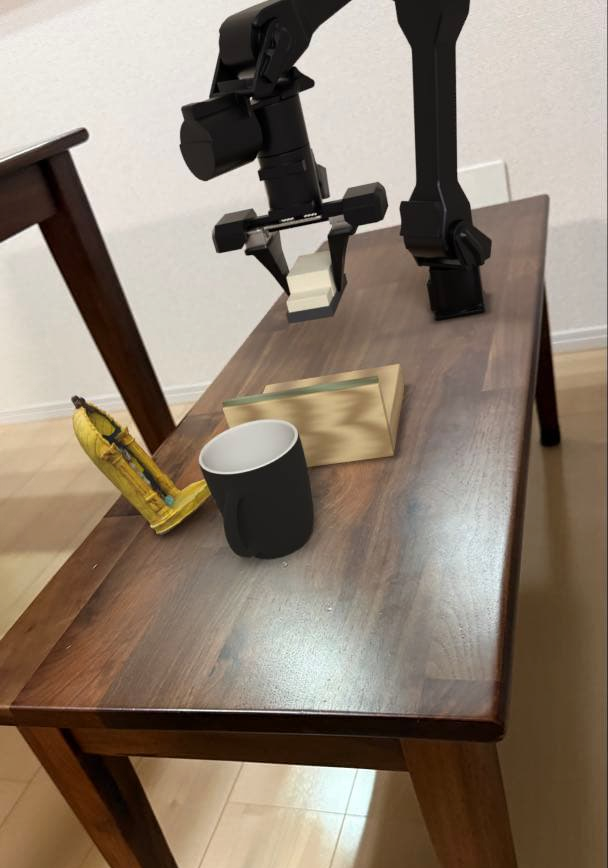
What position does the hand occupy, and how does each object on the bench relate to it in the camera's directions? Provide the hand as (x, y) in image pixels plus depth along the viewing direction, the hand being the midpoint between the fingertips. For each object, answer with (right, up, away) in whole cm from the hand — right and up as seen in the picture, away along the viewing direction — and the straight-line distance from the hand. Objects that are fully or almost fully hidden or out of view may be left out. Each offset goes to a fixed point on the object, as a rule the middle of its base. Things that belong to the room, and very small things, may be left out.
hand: (317, 294), depth 96 cm
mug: (-4, -29, -19) cm, 35 cm away
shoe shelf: (+1, -15, -2) cm, 16 cm away
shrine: (-15, -26, -11) cm, 32 cm away
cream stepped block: (0, -1, +1) cm, 1 cm away
